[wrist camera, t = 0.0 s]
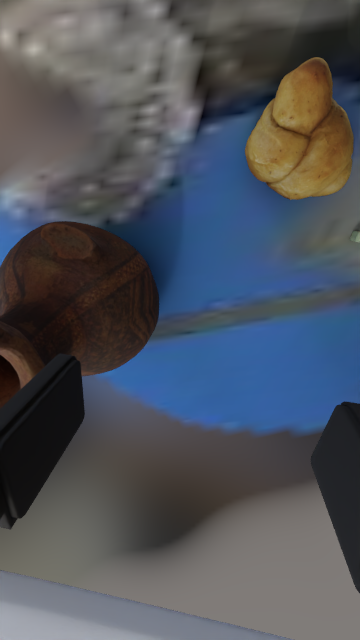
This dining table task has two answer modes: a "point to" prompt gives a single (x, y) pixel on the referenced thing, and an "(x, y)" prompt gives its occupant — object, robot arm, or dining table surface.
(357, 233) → the frame
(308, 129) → the bread roll
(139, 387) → the dining table surface
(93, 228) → the jug
